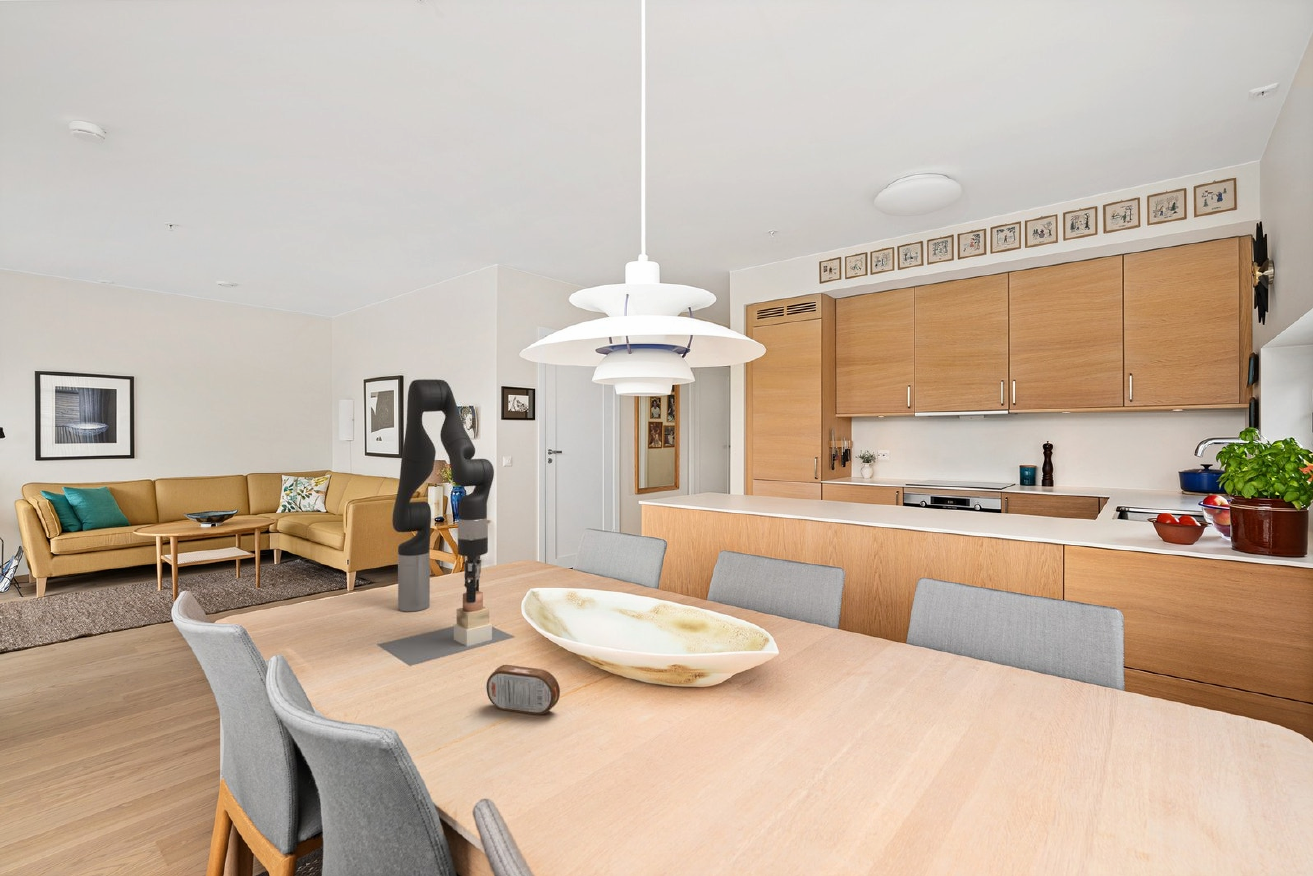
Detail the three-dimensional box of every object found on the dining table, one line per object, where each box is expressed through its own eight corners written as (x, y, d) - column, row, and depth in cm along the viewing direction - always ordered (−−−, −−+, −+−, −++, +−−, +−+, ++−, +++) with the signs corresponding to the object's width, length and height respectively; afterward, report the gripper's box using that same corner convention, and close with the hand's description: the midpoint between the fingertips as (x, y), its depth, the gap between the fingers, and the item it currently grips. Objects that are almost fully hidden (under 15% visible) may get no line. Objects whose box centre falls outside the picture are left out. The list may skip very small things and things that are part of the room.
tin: (560, 712, 118) (560, 669, 118) (553, 719, 114) (553, 675, 114) (492, 703, 122) (492, 661, 122) (483, 709, 119) (483, 667, 119)
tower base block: (453, 639, 156) (453, 624, 156) (478, 633, 161) (478, 618, 161) (466, 646, 151) (466, 630, 151) (491, 639, 156) (491, 624, 156)
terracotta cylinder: (459, 609, 156) (459, 593, 156) (476, 605, 160) (476, 590, 160) (468, 613, 153) (468, 597, 153) (486, 609, 156) (486, 593, 156)
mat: (376, 648, 152) (376, 644, 152) (477, 623, 172) (477, 620, 172) (409, 670, 138) (409, 665, 138) (515, 640, 158) (515, 636, 158)
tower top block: (456, 624, 156) (456, 609, 156) (477, 619, 160) (477, 604, 160) (467, 629, 152) (467, 613, 152) (489, 624, 156) (489, 609, 156)
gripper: (461, 531, 162) (461, 591, 162) (454, 541, 148) (454, 606, 148) (489, 530, 164) (489, 590, 164) (485, 540, 150) (485, 604, 150)
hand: (472, 597), depth 156 cm, fingers open, 8 cm apart
